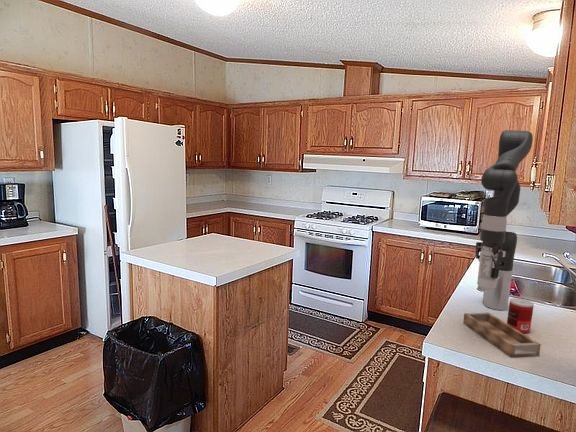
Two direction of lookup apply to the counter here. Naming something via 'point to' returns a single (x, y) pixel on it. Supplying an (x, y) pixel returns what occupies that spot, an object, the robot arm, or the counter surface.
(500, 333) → the wooden tray
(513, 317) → the canned food
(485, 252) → the energy drink can
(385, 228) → the counter surface
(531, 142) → the robot arm
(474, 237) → the counter surface
